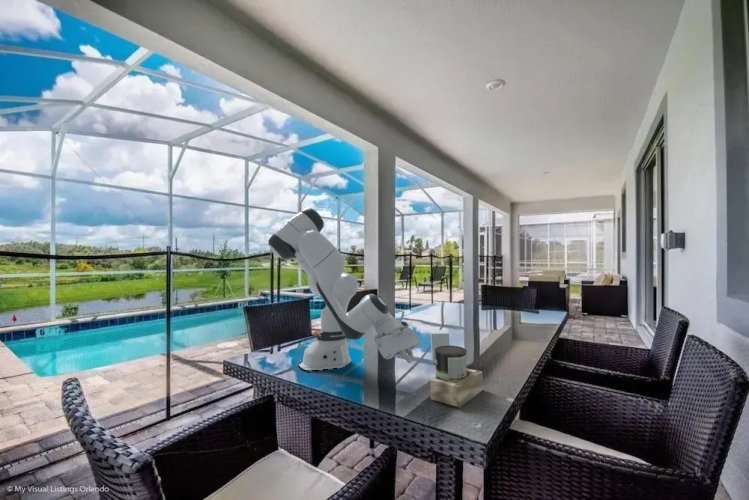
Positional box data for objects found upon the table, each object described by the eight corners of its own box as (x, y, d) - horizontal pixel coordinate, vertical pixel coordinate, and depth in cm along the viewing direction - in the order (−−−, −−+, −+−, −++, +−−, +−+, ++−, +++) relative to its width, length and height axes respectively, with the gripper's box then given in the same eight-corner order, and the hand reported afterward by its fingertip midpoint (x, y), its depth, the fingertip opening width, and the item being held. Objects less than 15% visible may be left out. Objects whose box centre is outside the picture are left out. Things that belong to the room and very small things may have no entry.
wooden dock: (430, 399, 109) (430, 380, 109) (455, 383, 122) (455, 366, 122) (459, 407, 102) (459, 387, 102) (483, 389, 115) (482, 371, 115)
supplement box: (448, 358, 151) (447, 329, 151) (450, 363, 143) (449, 333, 144) (431, 358, 151) (430, 329, 152) (432, 363, 144) (431, 333, 144)
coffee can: (432, 396, 111) (431, 352, 111) (439, 384, 120) (438, 344, 121) (465, 400, 107) (464, 355, 107) (469, 388, 116) (468, 346, 117)
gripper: (376, 331, 121) (400, 364, 115) (409, 321, 137) (431, 349, 130) (367, 342, 124) (390, 374, 117) (400, 331, 140) (422, 359, 133)
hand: (412, 361), depth 124 cm, fingers closed
